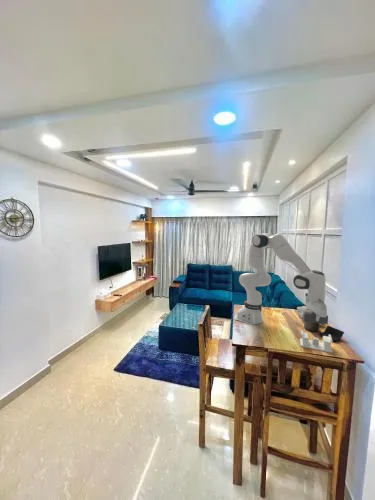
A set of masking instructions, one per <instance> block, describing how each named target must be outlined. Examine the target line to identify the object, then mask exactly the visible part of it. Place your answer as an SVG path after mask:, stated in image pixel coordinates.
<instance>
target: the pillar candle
mask: <svg viewBox="0 0 375 500" xmlns="http://www.w3.org/2000/svg"><path fill="white" fill-rule="evenodd" d="M305 312H307V313H311V310H310V309H305ZM303 329H305V330H306V331H309V332H314V333H317V332H319V331H320V324H319V323H313V322H304V321H303Z"/></svg>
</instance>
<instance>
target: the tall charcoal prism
mask: <svg viewBox="0 0 375 500" xmlns="http://www.w3.org/2000/svg"><path fill="white" fill-rule="evenodd" d="M315 317H316V313H307V312H303V318H302V321H303V323H304V322H313V323H322V324H325V325H328V324H329V323H328V322H329V315H328V314H327V316H326V317H320V318H319V321H316V320H315ZM322 324H321V325H322Z"/></svg>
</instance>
